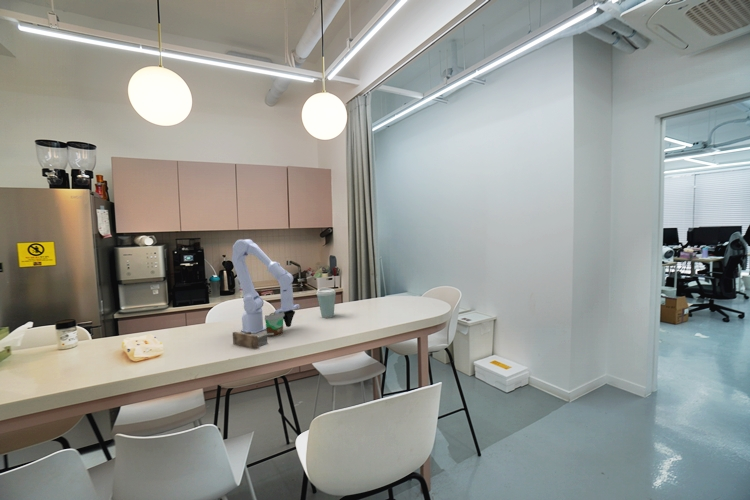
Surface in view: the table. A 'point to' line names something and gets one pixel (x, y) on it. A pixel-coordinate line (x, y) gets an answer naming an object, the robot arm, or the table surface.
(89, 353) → the table surface
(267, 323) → the food container
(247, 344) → the holder bay
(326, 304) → the disposable coffee cup
